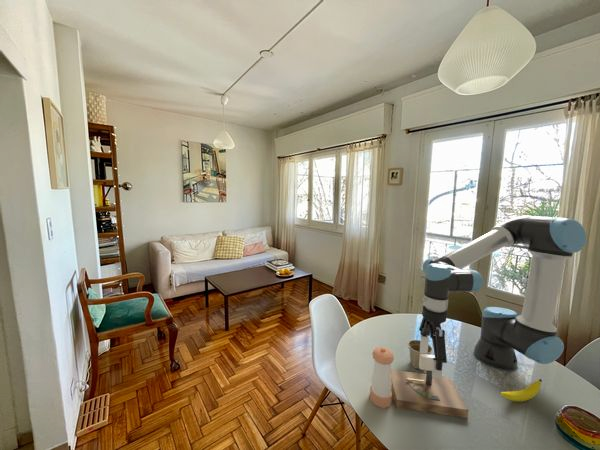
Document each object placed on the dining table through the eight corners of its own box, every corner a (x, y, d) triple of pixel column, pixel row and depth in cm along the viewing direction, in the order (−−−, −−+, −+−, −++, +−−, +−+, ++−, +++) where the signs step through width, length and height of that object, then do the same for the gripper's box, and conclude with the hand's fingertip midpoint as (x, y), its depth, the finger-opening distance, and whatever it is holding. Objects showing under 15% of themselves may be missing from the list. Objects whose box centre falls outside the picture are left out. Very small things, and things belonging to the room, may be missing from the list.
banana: (494, 402, 87) (496, 385, 86) (534, 392, 92) (536, 376, 91) (503, 409, 84) (505, 391, 83) (543, 398, 89) (546, 382, 88)
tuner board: (448, 384, 95) (449, 376, 95) (467, 418, 80) (468, 409, 80) (388, 376, 99) (388, 368, 98) (396, 407, 84) (397, 398, 83)
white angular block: (437, 383, 91) (440, 355, 90) (440, 387, 89) (442, 359, 88) (406, 379, 93) (408, 352, 92) (407, 382, 91) (409, 355, 90)
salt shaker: (377, 410, 83) (380, 356, 81) (365, 393, 90) (368, 343, 88) (395, 405, 85) (399, 353, 83) (383, 389, 92) (386, 340, 90)
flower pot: (434, 374, 100) (435, 354, 99) (409, 371, 102) (410, 351, 101) (427, 359, 109) (428, 341, 108) (404, 356, 111) (405, 338, 110)
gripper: (413, 293, 100) (409, 342, 103) (436, 324, 76) (430, 387, 78) (433, 295, 99) (428, 345, 101) (463, 326, 75) (456, 391, 77)
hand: (429, 363), depth 90 cm, fingers open, 13 cm apart
